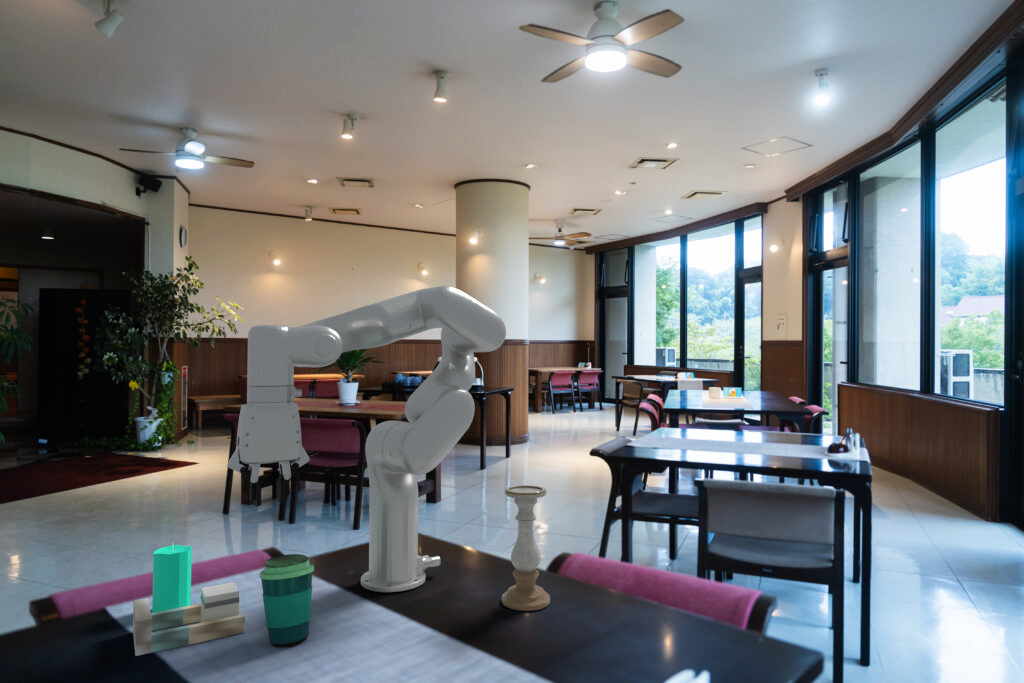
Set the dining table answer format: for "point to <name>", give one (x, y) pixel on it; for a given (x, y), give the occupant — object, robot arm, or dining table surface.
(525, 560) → the candle holder
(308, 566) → the cup
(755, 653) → the dining table surface
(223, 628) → the guide channel
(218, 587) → the striped cream block
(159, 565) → the candle
